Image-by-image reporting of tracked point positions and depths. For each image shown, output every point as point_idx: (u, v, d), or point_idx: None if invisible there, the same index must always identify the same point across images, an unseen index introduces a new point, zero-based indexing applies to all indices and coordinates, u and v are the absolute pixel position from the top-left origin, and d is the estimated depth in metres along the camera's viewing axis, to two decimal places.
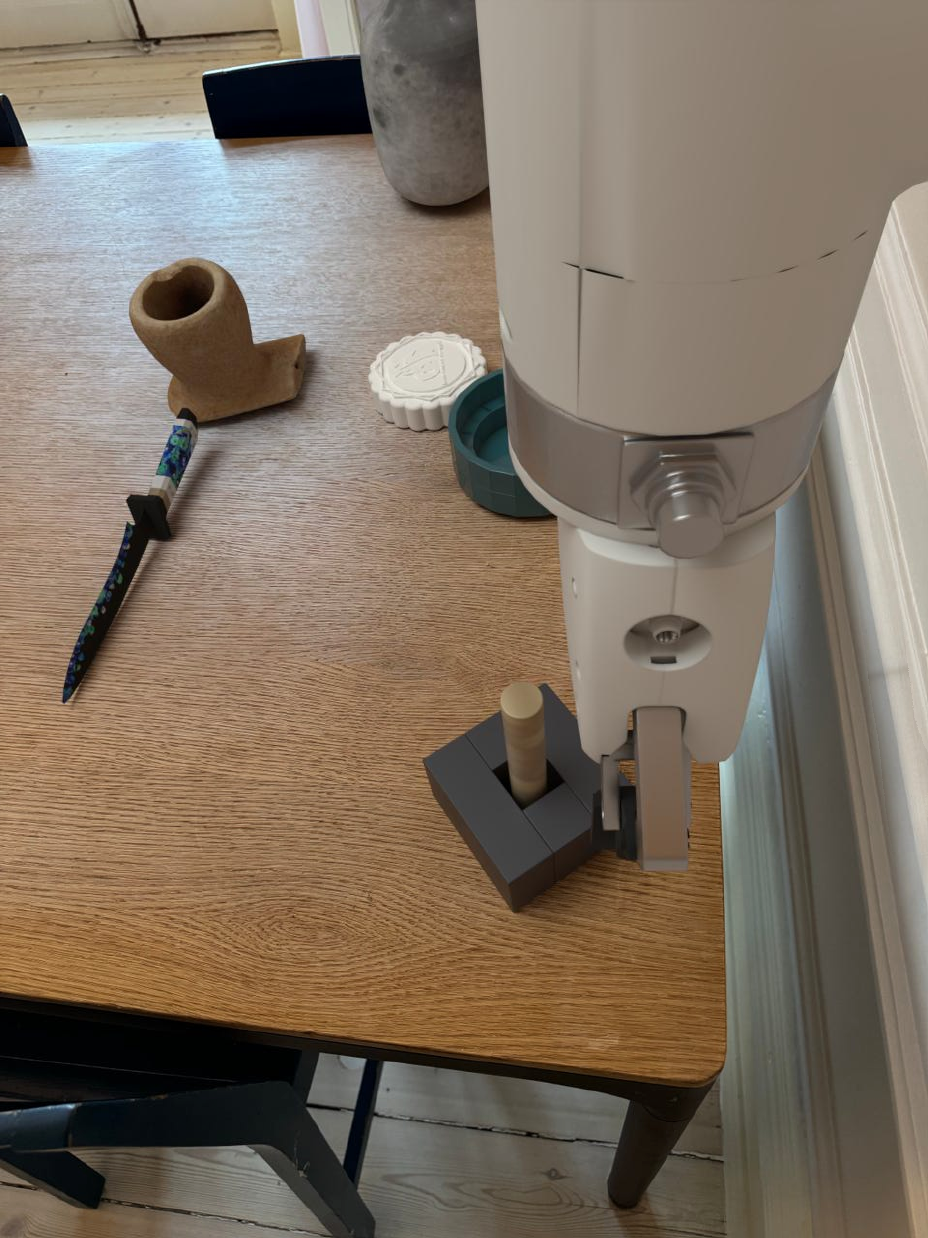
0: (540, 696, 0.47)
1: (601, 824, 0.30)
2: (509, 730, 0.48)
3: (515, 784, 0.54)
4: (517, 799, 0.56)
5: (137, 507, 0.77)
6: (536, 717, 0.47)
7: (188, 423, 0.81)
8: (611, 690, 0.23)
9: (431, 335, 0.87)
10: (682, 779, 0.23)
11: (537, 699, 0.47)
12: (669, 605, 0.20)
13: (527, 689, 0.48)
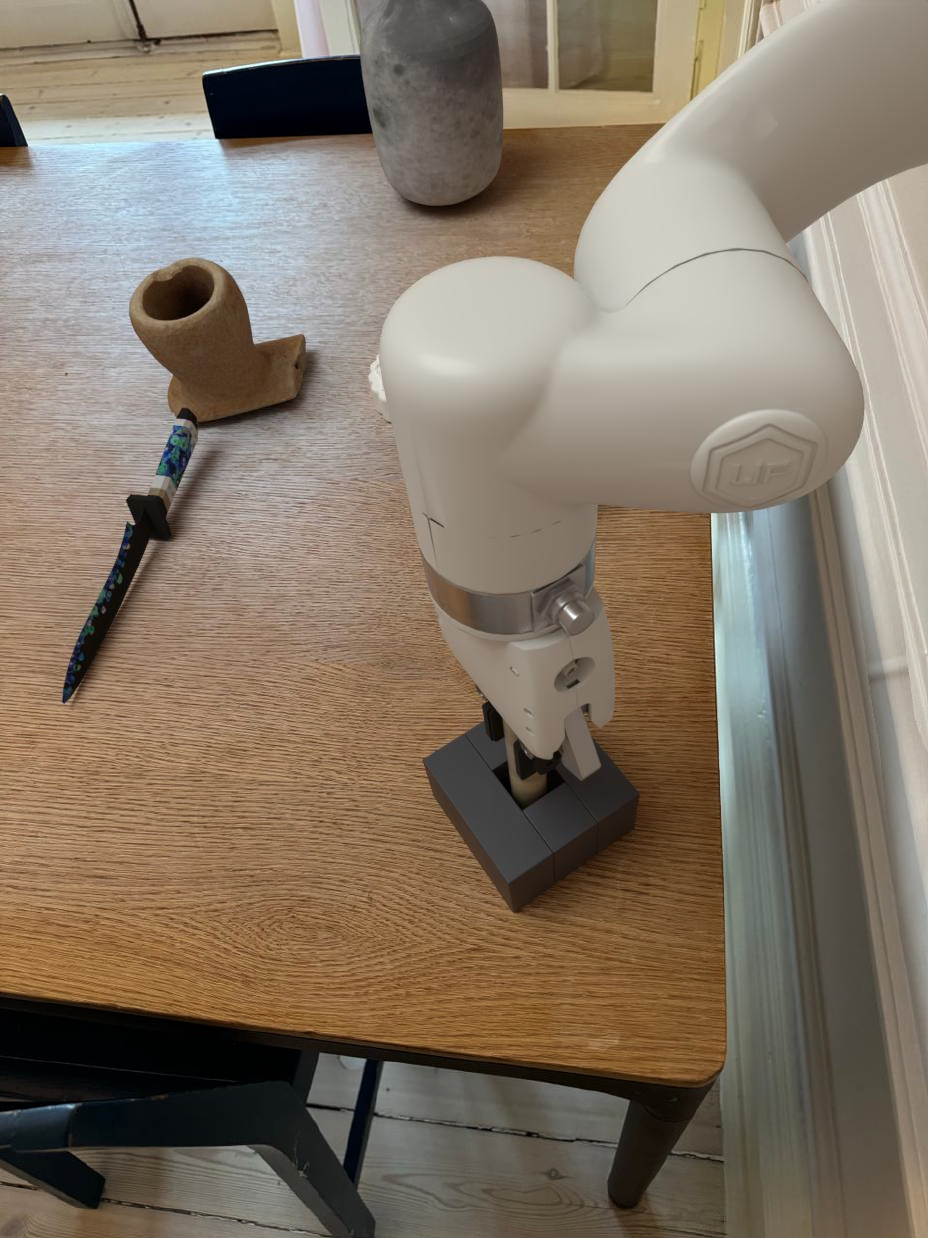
0: None
1: (523, 761, 0.49)
2: (510, 731, 0.48)
3: (515, 784, 0.54)
4: (517, 799, 0.56)
5: (137, 507, 0.77)
6: None
7: (188, 423, 0.81)
8: (552, 713, 0.39)
9: None
10: (590, 737, 0.42)
11: None
12: (571, 656, 0.37)
13: None
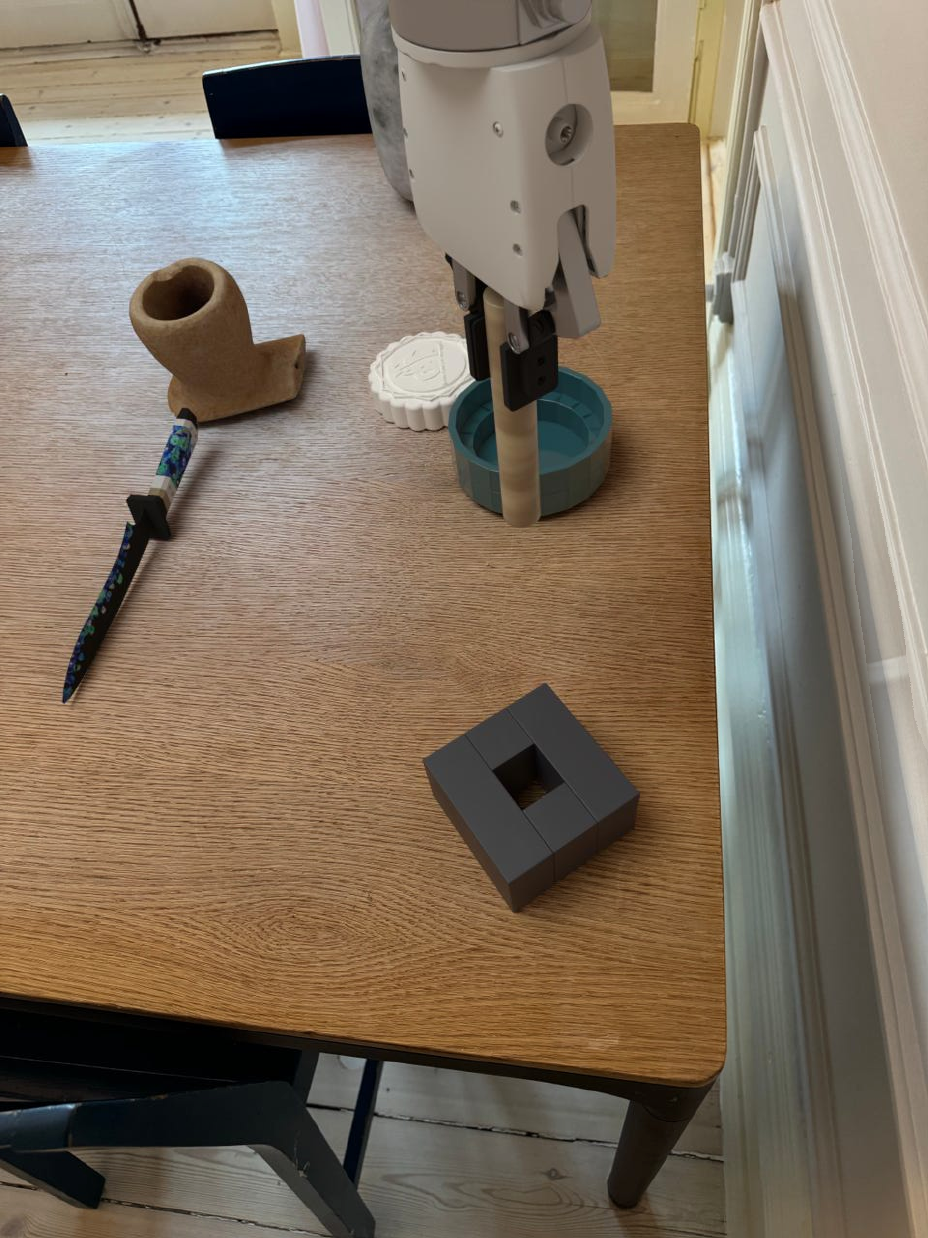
0: None
1: (512, 373, 0.43)
2: (495, 338, 0.43)
3: (503, 447, 0.49)
4: (506, 476, 0.50)
5: (137, 507, 0.77)
6: None
7: (188, 423, 0.81)
8: (544, 203, 0.33)
9: (431, 335, 0.87)
10: (588, 272, 0.36)
11: None
12: (564, 95, 0.31)
13: None
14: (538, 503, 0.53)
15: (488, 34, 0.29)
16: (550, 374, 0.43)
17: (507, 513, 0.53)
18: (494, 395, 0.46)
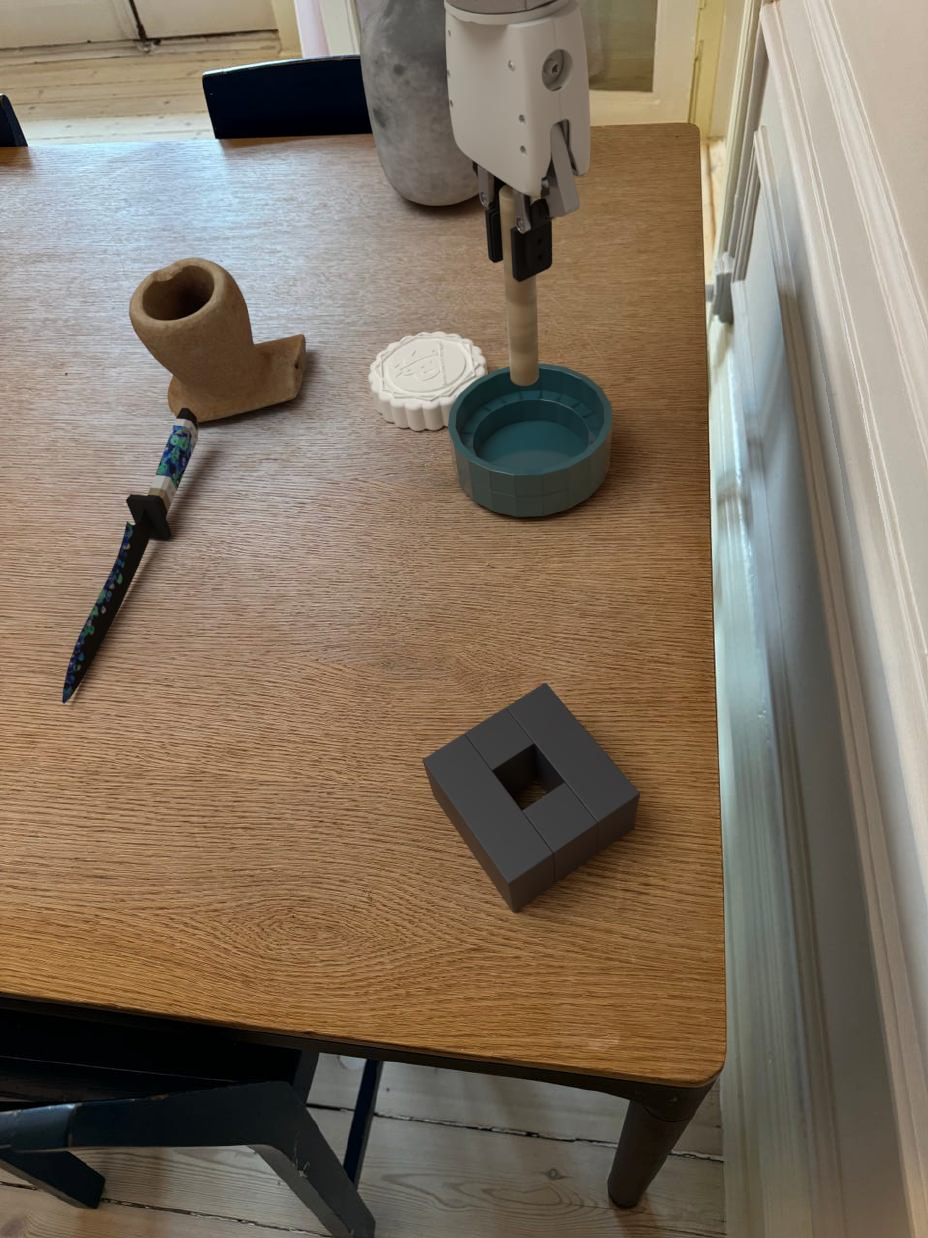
0: None
1: (518, 250, 0.60)
2: (506, 225, 0.60)
3: (511, 315, 0.66)
4: (513, 340, 0.68)
5: (137, 507, 0.77)
6: None
7: (188, 423, 0.81)
8: (541, 116, 0.50)
9: (431, 335, 0.87)
10: (571, 168, 0.53)
11: None
12: (554, 43, 0.48)
13: None
14: (537, 365, 0.70)
15: (506, 3, 0.47)
16: (546, 253, 0.61)
17: (513, 373, 0.71)
18: (505, 272, 0.63)
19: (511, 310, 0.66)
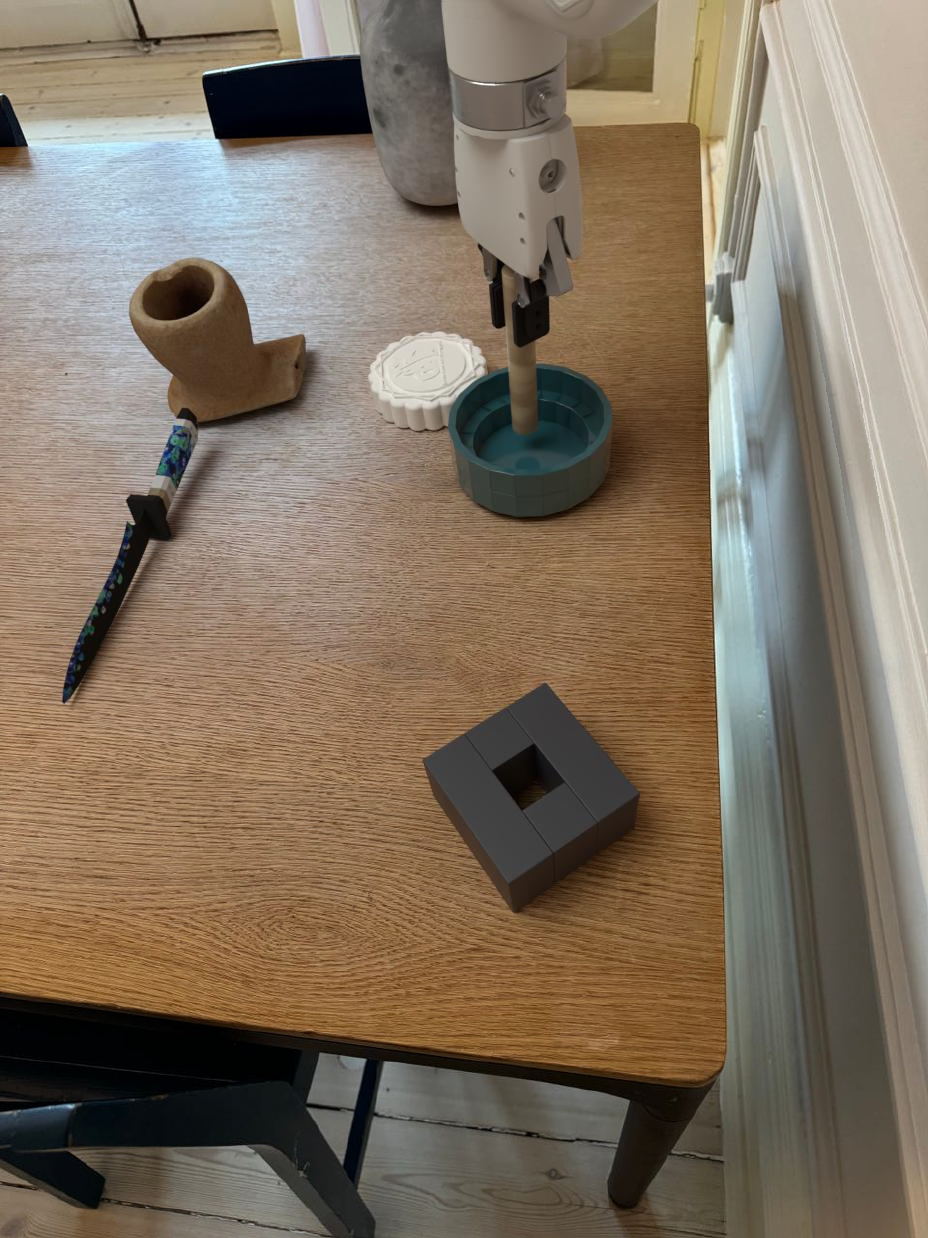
0: None
1: (519, 321, 0.67)
2: (508, 298, 0.67)
3: (512, 374, 0.73)
4: (514, 395, 0.74)
5: (137, 507, 0.77)
6: None
7: (188, 423, 0.81)
8: (538, 214, 0.57)
9: (431, 335, 0.87)
10: (565, 255, 0.60)
11: None
12: (550, 154, 0.55)
13: None
14: (536, 417, 0.77)
15: (507, 122, 0.53)
16: (544, 322, 0.67)
17: (515, 424, 0.77)
18: (507, 337, 0.70)
19: (513, 370, 0.72)
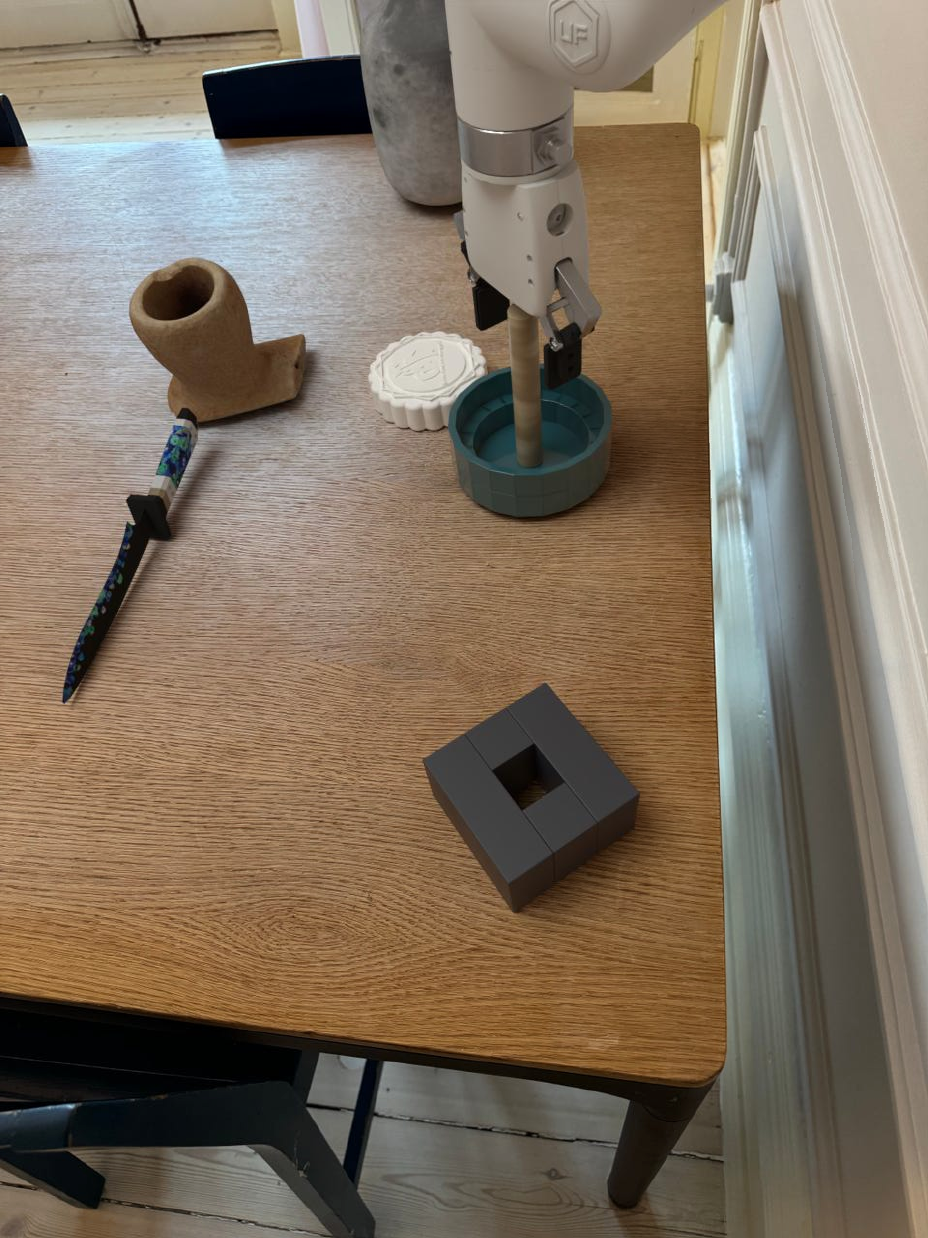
0: None
1: (551, 364, 0.64)
2: (514, 338, 0.68)
3: (517, 410, 0.74)
4: (519, 430, 0.75)
5: (137, 507, 0.77)
6: (533, 321, 0.66)
7: (188, 423, 0.81)
8: (546, 257, 0.58)
9: (431, 335, 0.87)
10: (583, 281, 0.59)
11: None
12: (557, 199, 0.55)
13: None
14: (541, 450, 0.78)
15: (516, 168, 0.54)
16: (576, 365, 0.65)
17: (520, 457, 0.78)
18: (513, 375, 0.71)
19: (518, 406, 0.73)
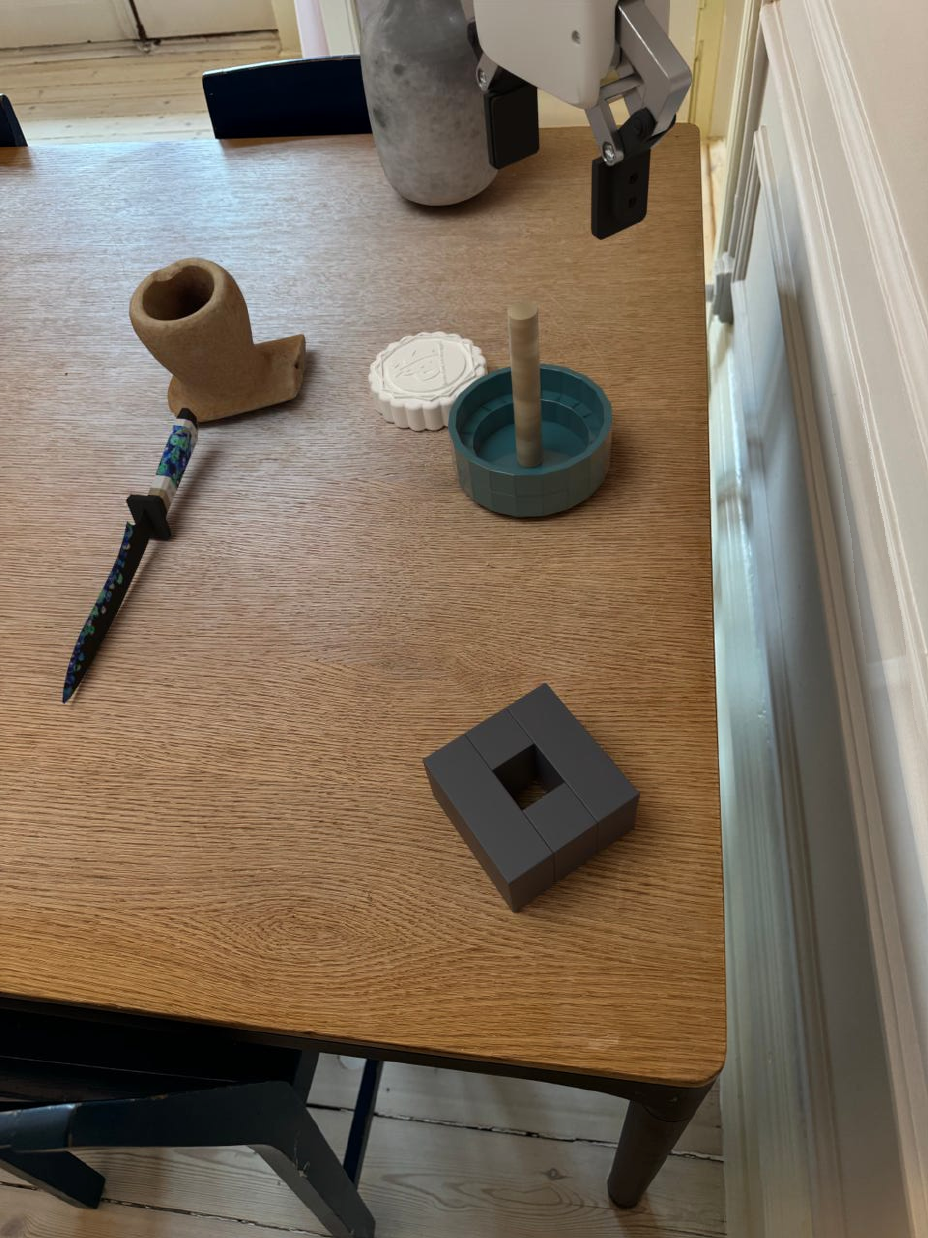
0: (535, 307, 0.66)
1: (602, 192, 0.42)
2: (514, 338, 0.68)
3: (517, 410, 0.74)
4: (519, 430, 0.75)
5: (137, 507, 0.77)
6: (533, 321, 0.66)
7: (188, 423, 0.81)
8: None
9: (431, 335, 0.87)
10: (662, 30, 0.36)
11: (533, 308, 0.66)
12: None
13: (526, 304, 0.67)
14: (541, 450, 0.78)
15: None
16: (641, 197, 0.43)
17: (520, 457, 0.78)
18: (513, 375, 0.71)
19: (518, 406, 0.73)
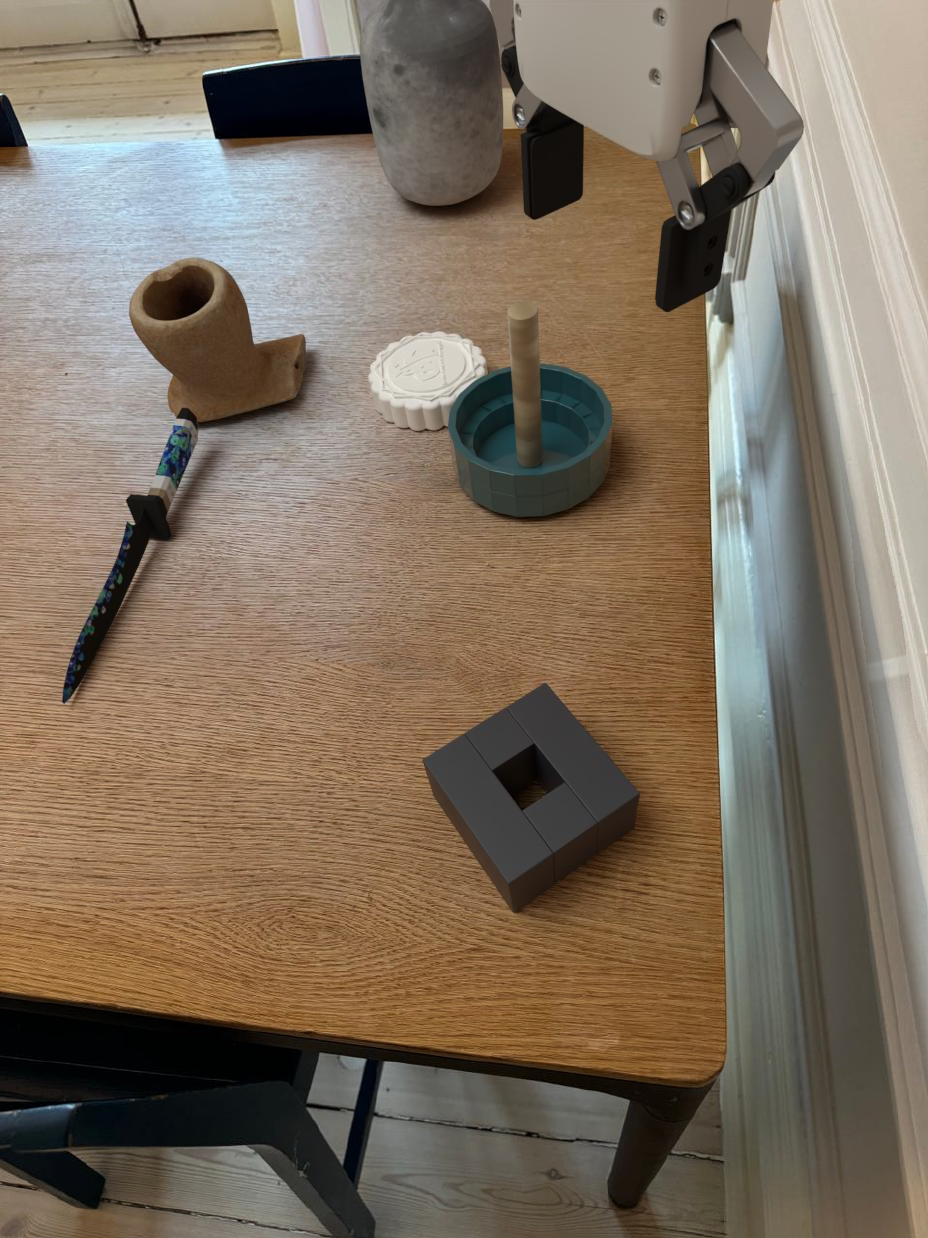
0: (535, 307, 0.66)
1: (673, 259, 0.35)
2: (514, 338, 0.68)
3: (517, 410, 0.74)
4: (519, 430, 0.75)
5: (137, 507, 0.77)
6: (533, 321, 0.66)
7: (188, 423, 0.81)
8: (695, 11, 0.28)
9: (431, 335, 0.87)
10: (766, 69, 0.29)
11: (533, 308, 0.66)
12: None
13: (526, 304, 0.67)
14: (541, 450, 0.78)
15: None
16: (718, 263, 0.35)
17: (520, 457, 0.78)
18: (513, 375, 0.71)
19: (518, 406, 0.73)
